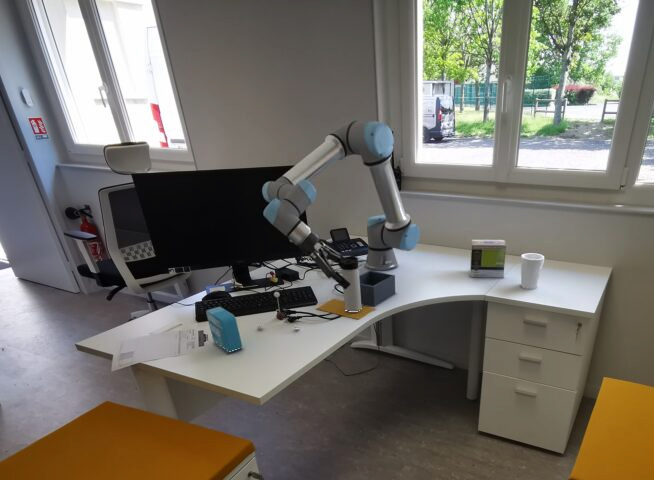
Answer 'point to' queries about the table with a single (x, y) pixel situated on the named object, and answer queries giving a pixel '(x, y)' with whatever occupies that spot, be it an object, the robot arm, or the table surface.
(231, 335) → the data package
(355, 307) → the travel mug
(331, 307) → the desk mat
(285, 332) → the table surface
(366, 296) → the bin
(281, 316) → the molecular model
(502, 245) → the tea box
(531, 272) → the foam cup
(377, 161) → the robot arm
